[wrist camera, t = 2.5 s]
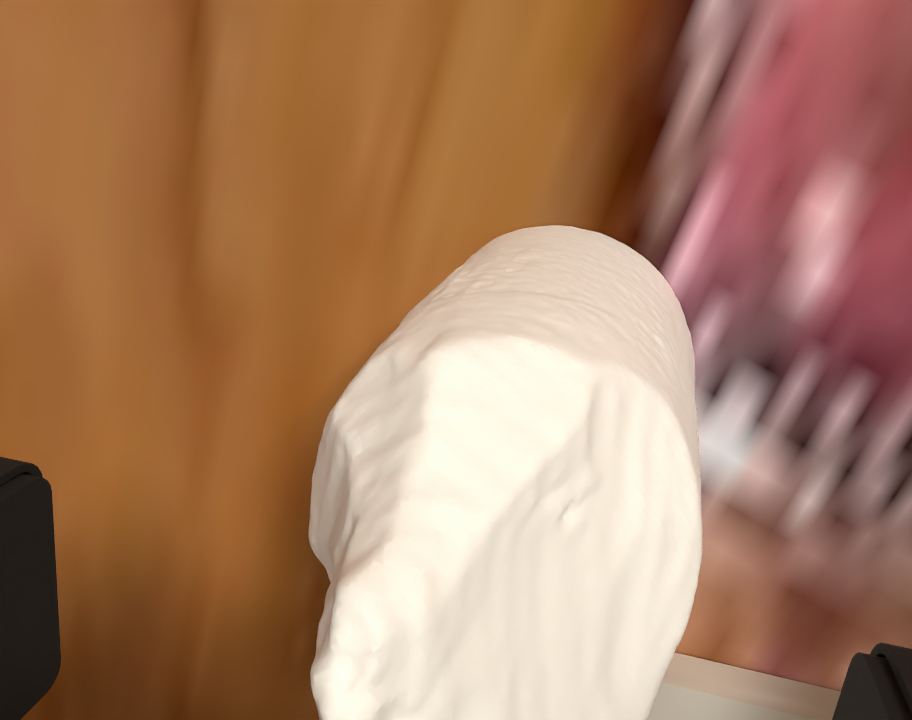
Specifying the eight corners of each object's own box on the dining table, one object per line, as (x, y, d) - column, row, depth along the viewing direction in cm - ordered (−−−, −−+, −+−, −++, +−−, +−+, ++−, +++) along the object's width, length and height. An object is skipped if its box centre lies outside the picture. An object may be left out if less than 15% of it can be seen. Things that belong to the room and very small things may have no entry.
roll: (885, 933, 7) (370, 1060, 9) (745, 402, 18) (530, 513, 20) (476, 339, 6) (9, 629, 8) (594, 166, 17) (385, 307, 19)
